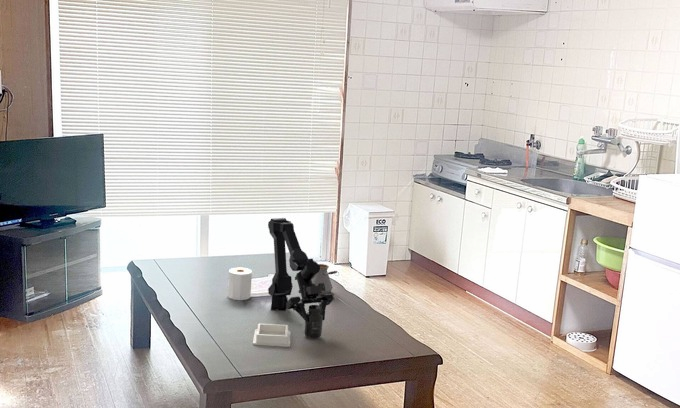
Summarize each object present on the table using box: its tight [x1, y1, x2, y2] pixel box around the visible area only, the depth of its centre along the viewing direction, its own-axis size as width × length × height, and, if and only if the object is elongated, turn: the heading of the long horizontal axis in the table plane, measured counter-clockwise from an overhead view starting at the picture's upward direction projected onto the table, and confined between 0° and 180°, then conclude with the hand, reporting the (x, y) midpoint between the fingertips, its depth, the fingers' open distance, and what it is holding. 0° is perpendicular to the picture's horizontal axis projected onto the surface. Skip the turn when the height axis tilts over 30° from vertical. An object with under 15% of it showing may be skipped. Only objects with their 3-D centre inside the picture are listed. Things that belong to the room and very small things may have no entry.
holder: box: [252, 323, 291, 348], centre depth 283 cm, size 14×14×4 cm
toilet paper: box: [227, 267, 253, 301], centre depth 326 cm, size 10×10×12 cm
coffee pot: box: [312, 263, 340, 296], centre depth 336 cm, size 21×12×15 cm, turn 27°
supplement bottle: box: [304, 304, 324, 339], centre depth 287 cm, size 7×7×12 cm
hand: (315, 321), depth 285 cm, fingers closed on supplement bottle, 7 cm apart
